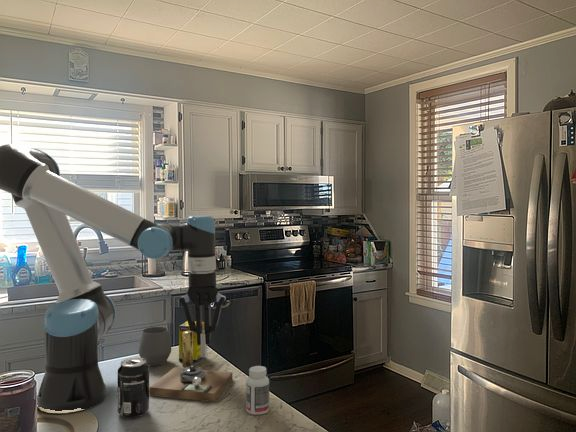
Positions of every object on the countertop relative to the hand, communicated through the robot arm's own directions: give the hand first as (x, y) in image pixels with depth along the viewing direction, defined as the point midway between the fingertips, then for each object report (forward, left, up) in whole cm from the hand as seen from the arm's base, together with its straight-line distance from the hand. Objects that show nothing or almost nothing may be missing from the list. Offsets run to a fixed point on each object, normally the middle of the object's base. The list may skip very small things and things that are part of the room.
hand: (204, 355), depth 128 cm
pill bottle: (+20, -18, -6) cm, 27 cm away
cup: (-18, +5, -6) cm, 19 cm away
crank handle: (0, -7, -3) cm, 8 cm away
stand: (0, -9, -5) cm, 10 cm away
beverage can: (-7, -26, -6) cm, 27 cm away
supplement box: (-9, +11, -6) cm, 15 cm away
